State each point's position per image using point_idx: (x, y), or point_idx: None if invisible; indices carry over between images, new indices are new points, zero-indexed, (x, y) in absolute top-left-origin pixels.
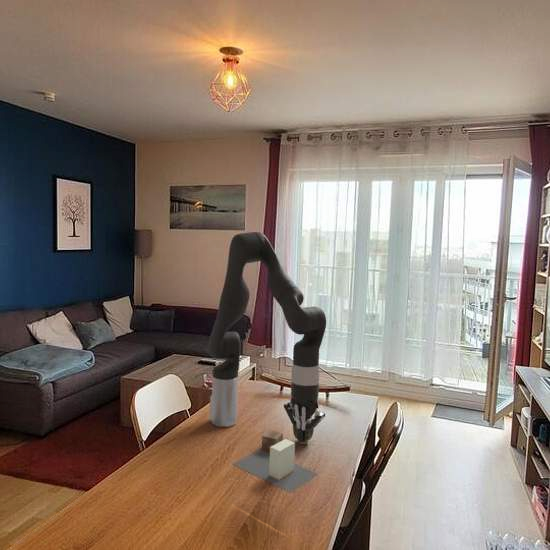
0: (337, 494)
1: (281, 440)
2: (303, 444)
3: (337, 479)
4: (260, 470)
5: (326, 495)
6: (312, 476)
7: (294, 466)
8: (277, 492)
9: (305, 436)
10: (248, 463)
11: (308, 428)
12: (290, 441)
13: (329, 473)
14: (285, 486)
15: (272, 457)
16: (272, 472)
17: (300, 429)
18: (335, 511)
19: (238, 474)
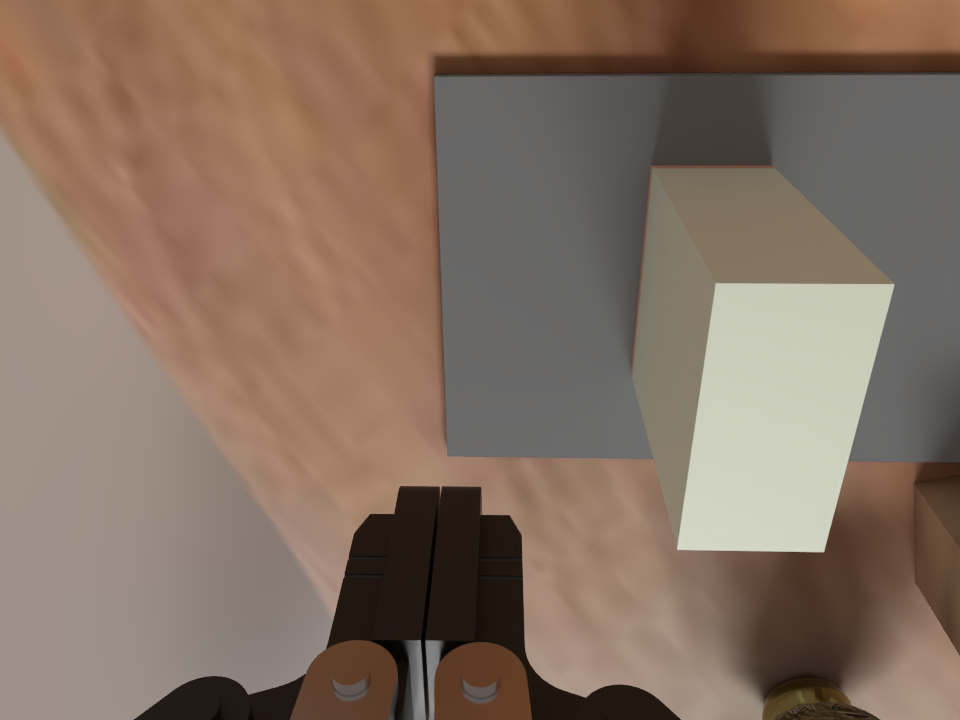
0: (172, 336)
1: (950, 621)
2: (782, 689)
3: (310, 489)
4: (897, 181)
5: (216, 270)
6: (458, 401)
7: None
8: (549, 5)
9: (349, 574)
10: None
11: (197, 700)
12: (737, 542)
13: None
14: (537, 125)
15: (801, 236)
16: (743, 179)
17: (433, 641)
18: (8, 133)
19: None
